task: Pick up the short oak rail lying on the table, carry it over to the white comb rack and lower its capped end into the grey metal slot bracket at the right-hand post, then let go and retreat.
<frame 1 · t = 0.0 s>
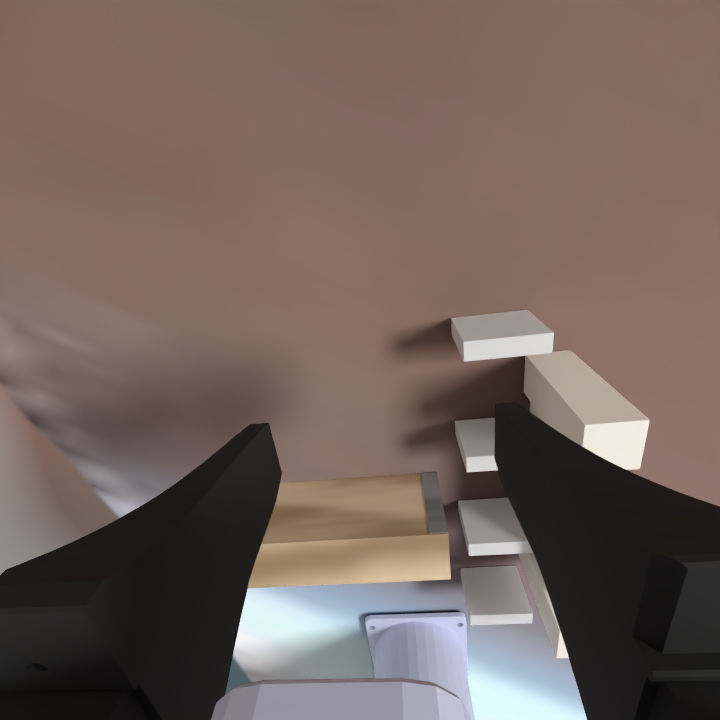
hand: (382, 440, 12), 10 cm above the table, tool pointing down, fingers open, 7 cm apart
rail: (328, 499, 27), on the table
white comb rack: (539, 463, 25), on the table
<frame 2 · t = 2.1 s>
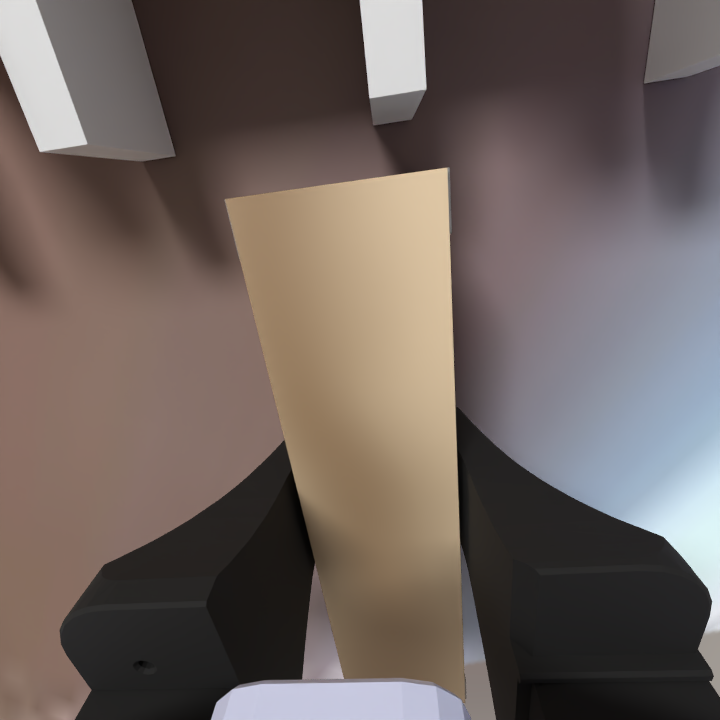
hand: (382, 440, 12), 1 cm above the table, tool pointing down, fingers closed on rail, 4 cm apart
rail: (381, 414, 14), on the table, touching gripper
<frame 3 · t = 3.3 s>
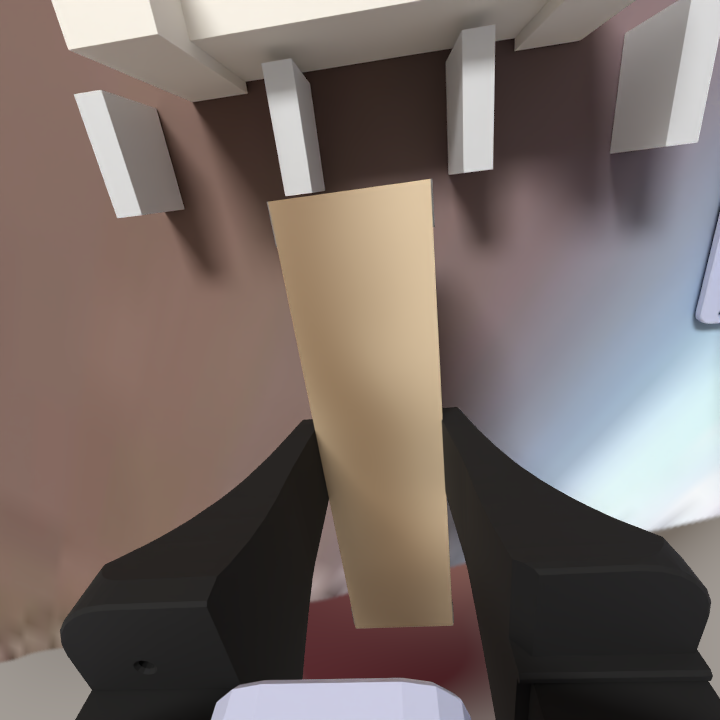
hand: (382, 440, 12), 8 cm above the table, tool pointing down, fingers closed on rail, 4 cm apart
rail: (382, 386, 16), point 5 cm above the table, touching gripper
white comb rack: (373, 35, 15), on the table
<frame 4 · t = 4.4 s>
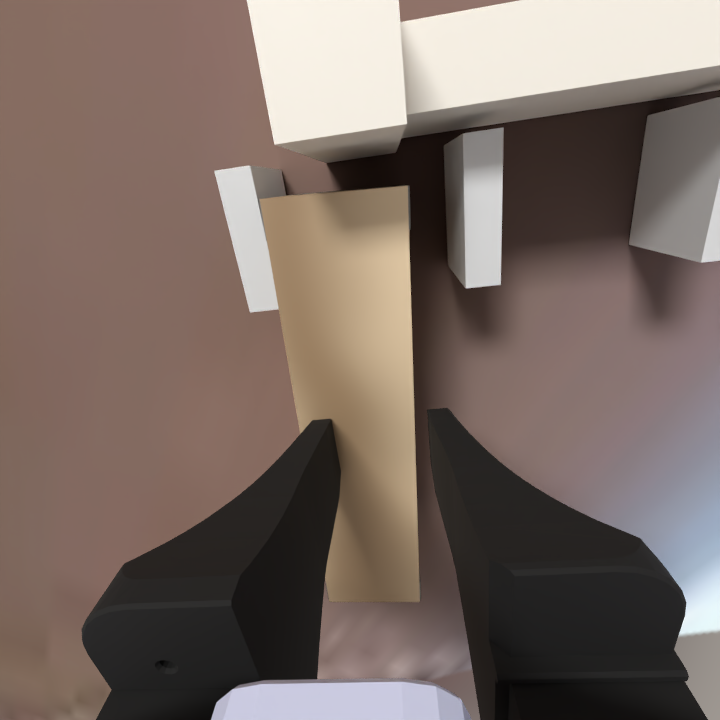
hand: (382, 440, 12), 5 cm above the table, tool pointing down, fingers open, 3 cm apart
rail: (365, 376, 17), on the table, touching gripper
white comb rack: (561, 84, 12), on the table
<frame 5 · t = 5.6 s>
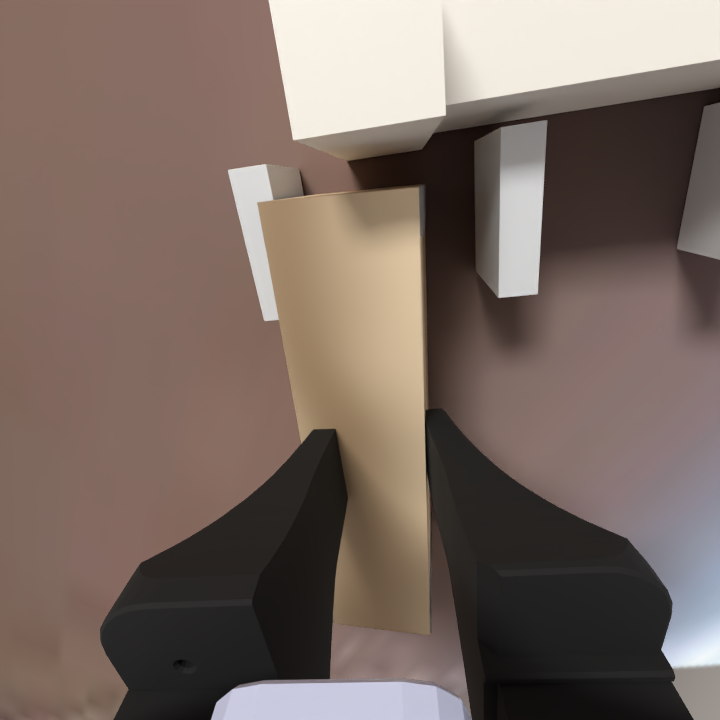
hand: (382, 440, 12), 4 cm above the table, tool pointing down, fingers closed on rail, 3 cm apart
rail: (383, 388, 16), on the table, touching gripper, white comb rack
white comb rack: (607, 73, 11), on the table
when the fingers open (4 cm above the table, at t = 6.5 s): rail stays where it is, on the table.
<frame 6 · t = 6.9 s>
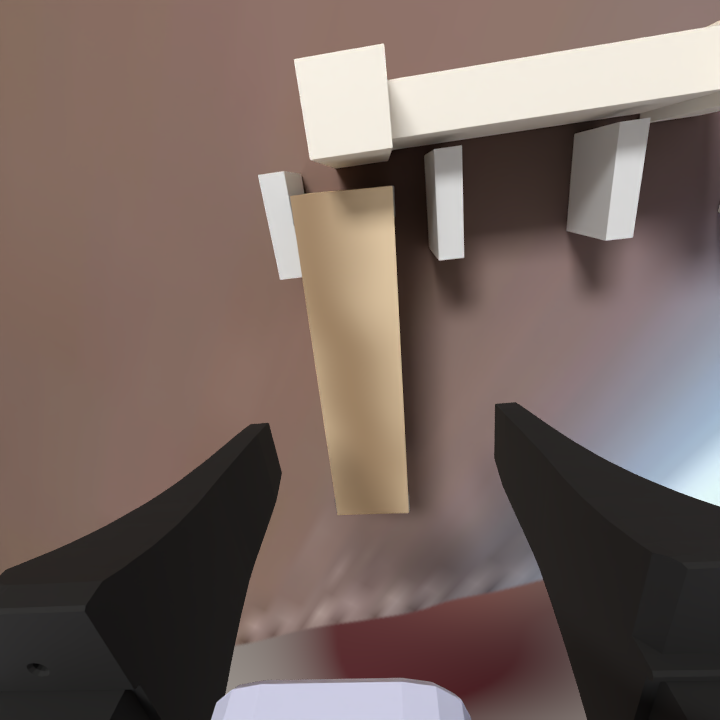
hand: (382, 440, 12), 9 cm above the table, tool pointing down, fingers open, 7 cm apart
rail: (364, 339, 21), on the table
white comb rack: (510, 111, 16), on the table
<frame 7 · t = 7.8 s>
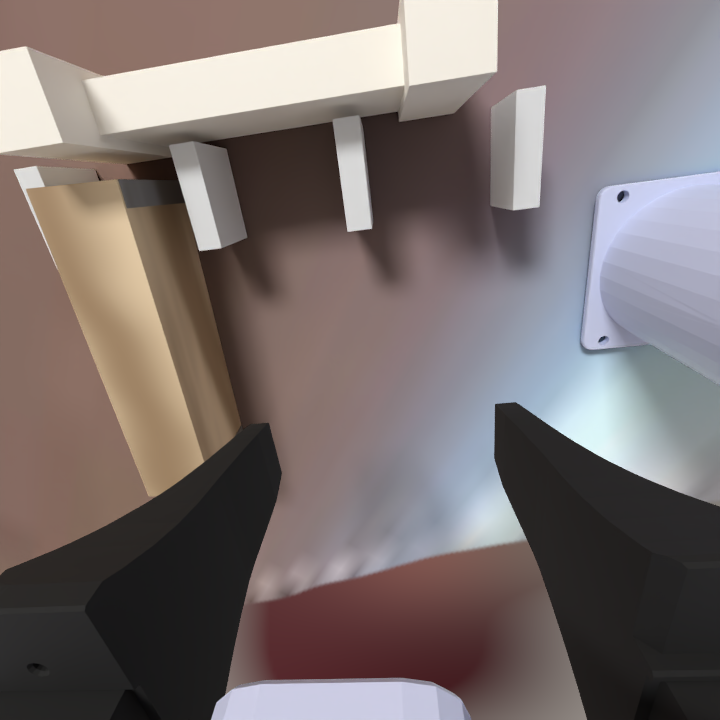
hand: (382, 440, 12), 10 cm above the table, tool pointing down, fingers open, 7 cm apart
rail: (186, 329, 22), on the table
white comb rack: (277, 109, 17), on the table
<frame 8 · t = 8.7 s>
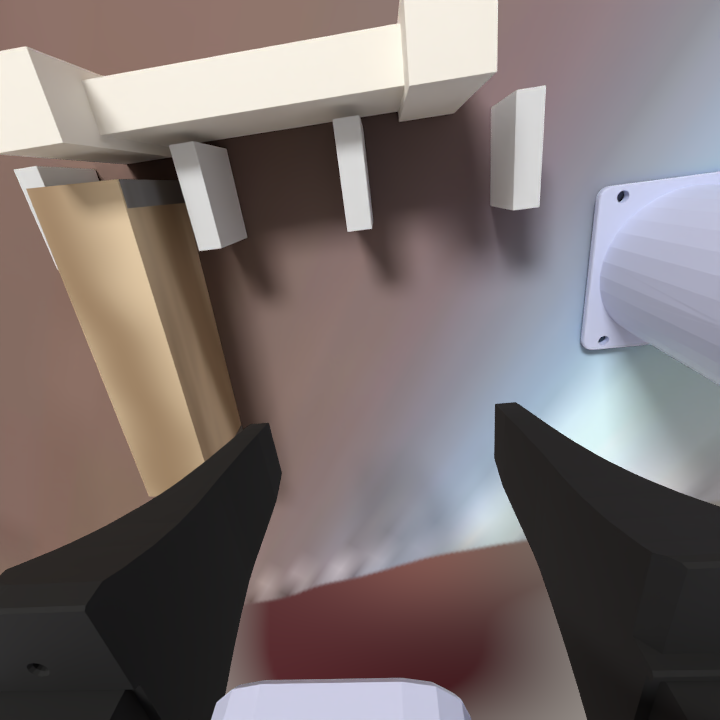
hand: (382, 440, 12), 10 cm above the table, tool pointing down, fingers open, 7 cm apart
rail: (186, 329, 22), on the table
white comb rack: (277, 109, 17), on the table
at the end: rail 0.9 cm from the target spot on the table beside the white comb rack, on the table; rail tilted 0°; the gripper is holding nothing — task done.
